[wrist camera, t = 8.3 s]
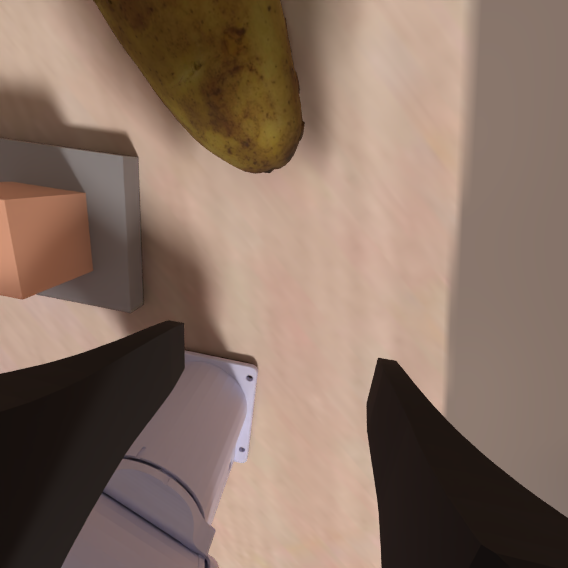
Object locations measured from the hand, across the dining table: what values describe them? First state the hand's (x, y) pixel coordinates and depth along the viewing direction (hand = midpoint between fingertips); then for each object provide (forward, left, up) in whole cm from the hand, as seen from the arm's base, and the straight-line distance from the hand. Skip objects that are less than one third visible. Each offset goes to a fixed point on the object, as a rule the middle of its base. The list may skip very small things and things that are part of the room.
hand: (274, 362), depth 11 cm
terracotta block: (+1, +16, -8) cm, 18 cm away
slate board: (+1, +16, -10) cm, 19 cm away
